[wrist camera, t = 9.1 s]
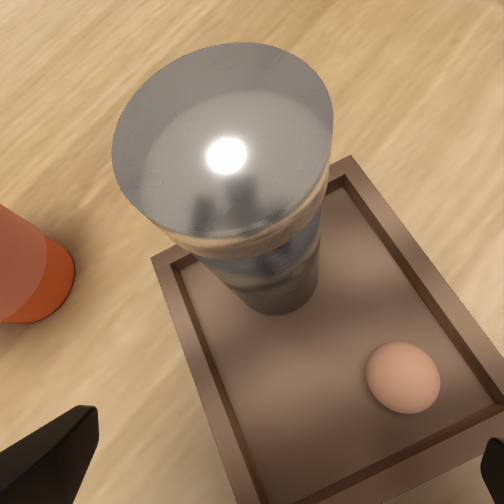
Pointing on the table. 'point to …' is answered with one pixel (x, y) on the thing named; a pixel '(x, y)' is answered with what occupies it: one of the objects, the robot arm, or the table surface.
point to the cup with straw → (30, 271)
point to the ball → (403, 377)
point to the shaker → (234, 166)
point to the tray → (336, 364)
